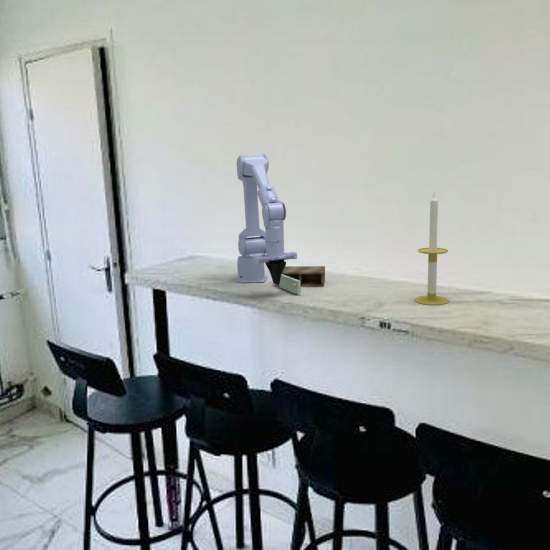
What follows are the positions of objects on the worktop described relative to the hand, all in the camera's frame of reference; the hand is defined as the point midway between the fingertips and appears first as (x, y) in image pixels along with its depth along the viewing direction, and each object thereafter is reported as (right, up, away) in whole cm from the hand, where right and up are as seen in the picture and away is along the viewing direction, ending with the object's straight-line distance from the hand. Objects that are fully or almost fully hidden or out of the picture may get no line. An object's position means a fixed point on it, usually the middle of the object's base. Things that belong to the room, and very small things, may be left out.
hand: (276, 283), depth 191 cm
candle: (+46, -5, -11) cm, 48 cm away
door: (+4, -2, +6) cm, 7 cm away
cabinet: (+9, 0, +16) cm, 18 cm away
